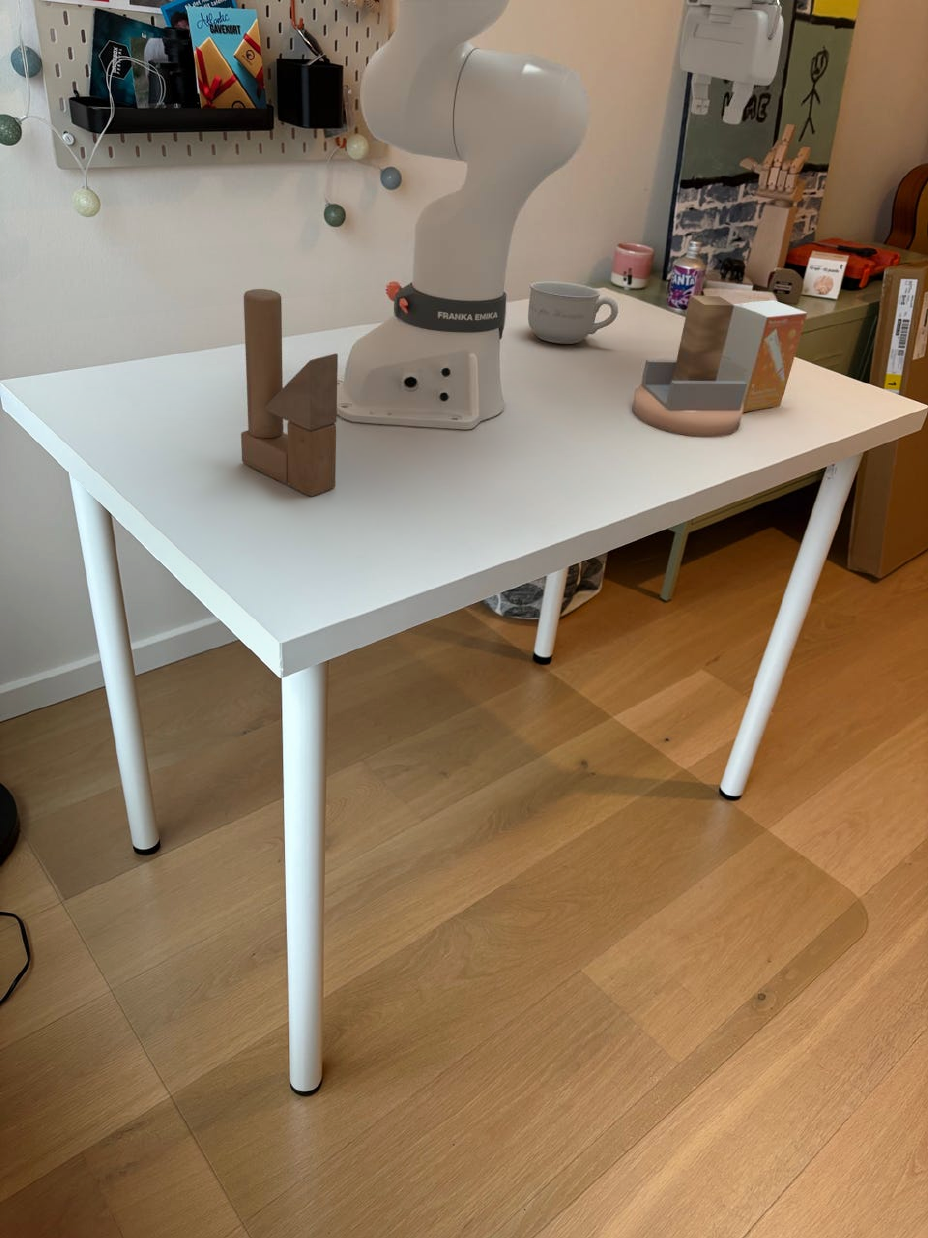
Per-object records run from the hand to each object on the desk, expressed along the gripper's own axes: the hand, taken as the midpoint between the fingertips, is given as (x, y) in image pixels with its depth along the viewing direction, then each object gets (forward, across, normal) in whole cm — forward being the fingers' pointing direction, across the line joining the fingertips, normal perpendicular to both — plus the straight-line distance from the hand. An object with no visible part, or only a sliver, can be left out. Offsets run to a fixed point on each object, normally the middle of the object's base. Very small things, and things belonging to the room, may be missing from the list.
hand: (714, 118), depth 124 cm
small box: (+33, -14, -6) cm, 37 cm away
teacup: (+33, +12, +11) cm, 37 cm away
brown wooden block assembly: (+33, -35, +58) cm, 76 cm away
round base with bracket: (+33, -19, +5) cm, 39 cm away
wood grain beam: (+30, -19, +5) cm, 36 cm away
